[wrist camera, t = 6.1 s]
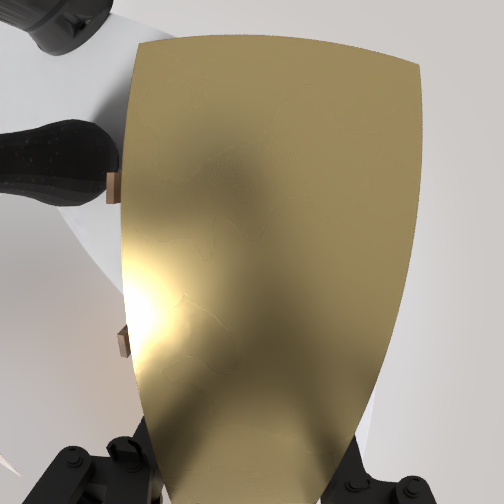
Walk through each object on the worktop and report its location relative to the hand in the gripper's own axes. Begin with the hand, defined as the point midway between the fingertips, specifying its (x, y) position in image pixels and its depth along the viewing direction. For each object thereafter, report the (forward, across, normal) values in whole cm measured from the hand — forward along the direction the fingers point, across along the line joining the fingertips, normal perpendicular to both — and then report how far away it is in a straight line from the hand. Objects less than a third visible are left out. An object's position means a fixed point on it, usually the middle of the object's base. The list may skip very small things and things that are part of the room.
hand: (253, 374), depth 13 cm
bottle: (+23, -23, +11) cm, 34 cm away
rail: (-2, 0, 0) cm, 2 cm away
